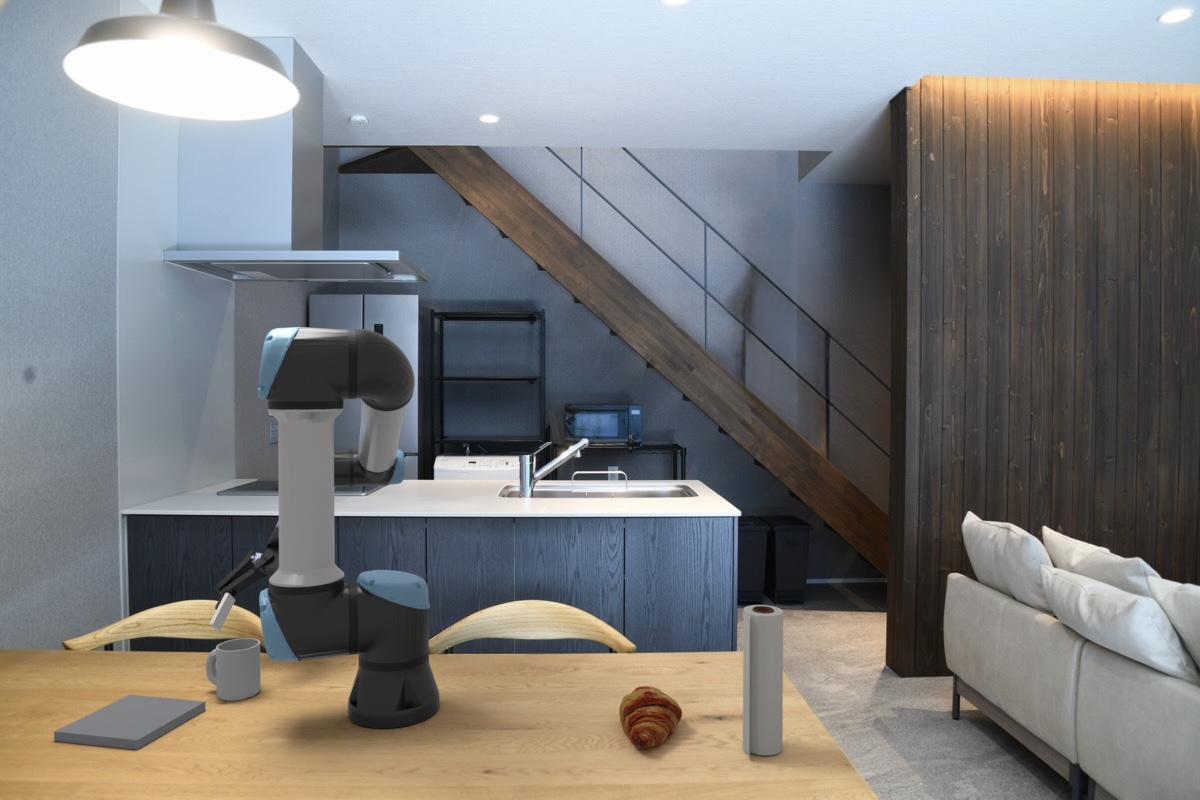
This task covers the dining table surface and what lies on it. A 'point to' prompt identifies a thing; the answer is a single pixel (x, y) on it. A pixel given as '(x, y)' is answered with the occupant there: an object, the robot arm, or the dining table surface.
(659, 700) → the croissant
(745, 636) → the paper towel roll
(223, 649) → the cup
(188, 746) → the dining table surface
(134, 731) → the slate tile
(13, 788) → the dining table surface
